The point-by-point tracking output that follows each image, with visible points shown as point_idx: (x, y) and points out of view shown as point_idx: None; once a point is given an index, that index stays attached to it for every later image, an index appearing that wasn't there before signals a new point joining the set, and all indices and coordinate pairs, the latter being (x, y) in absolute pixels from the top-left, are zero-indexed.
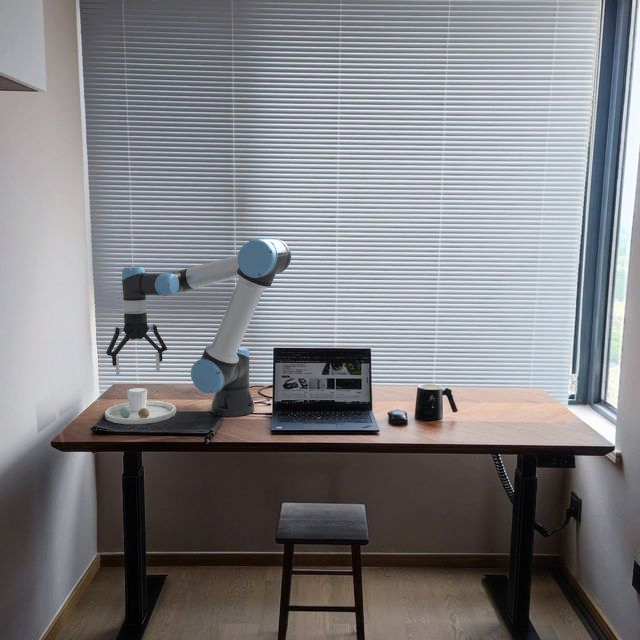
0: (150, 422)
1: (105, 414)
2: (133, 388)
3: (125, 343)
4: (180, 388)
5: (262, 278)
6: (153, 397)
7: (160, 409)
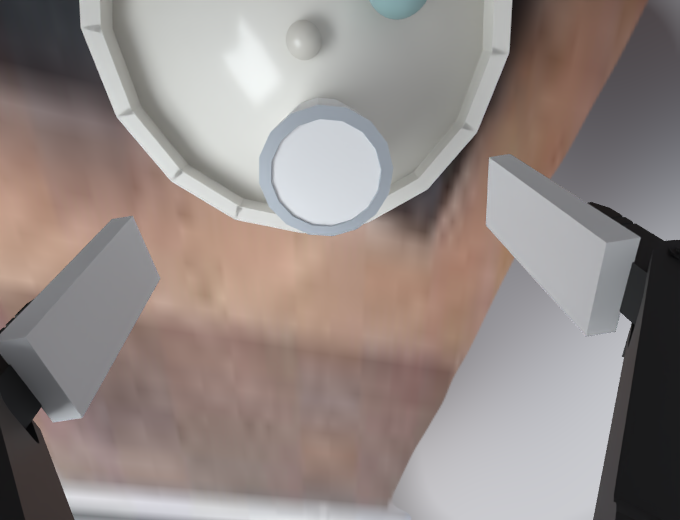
0: None
1: (507, 12)
2: (349, 220)
3: (628, 444)
4: (163, 445)
5: None
6: (260, 355)
7: (199, 111)
